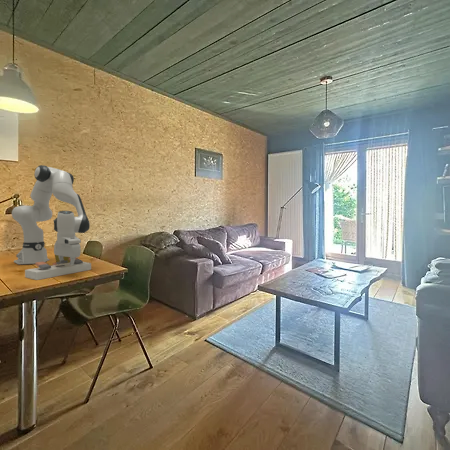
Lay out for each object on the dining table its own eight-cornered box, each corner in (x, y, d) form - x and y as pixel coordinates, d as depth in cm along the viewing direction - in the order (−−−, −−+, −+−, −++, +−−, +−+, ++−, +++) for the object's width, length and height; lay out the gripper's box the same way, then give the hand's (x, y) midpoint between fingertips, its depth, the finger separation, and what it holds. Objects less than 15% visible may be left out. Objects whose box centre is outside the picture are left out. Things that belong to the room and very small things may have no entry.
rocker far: (68, 259, 159) (68, 257, 159) (75, 258, 163) (75, 257, 163) (76, 264, 155) (76, 262, 155) (82, 262, 159) (82, 261, 159)
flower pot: (66, 268, 165) (66, 254, 164) (54, 267, 166) (54, 253, 166) (76, 265, 173) (76, 252, 173) (65, 265, 175) (65, 251, 175)
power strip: (25, 277, 141) (24, 269, 141) (84, 266, 170) (84, 259, 170) (36, 280, 135) (36, 271, 135) (96, 268, 165) (96, 261, 164)
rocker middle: (52, 265, 151) (52, 263, 151) (60, 264, 155) (59, 262, 155) (60, 263, 147) (60, 261, 148) (67, 262, 151) (67, 260, 151)
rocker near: (35, 264, 144) (35, 262, 143) (43, 263, 147) (43, 261, 147) (42, 269, 140) (42, 267, 140) (50, 268, 143) (50, 266, 143)
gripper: (50, 239, 150) (51, 263, 150) (71, 241, 140) (71, 267, 140) (61, 238, 155) (62, 261, 156) (82, 240, 145) (83, 265, 146)
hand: (67, 264), depth 148 cm, fingers open, 8 cm apart
